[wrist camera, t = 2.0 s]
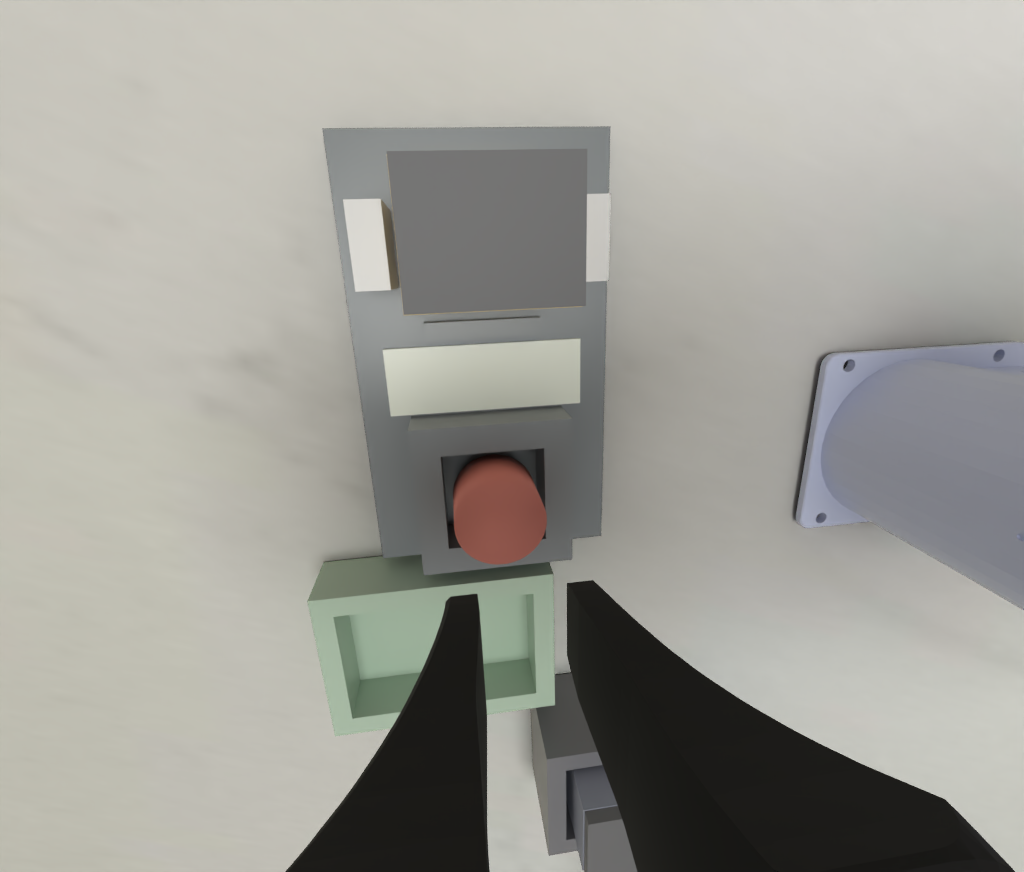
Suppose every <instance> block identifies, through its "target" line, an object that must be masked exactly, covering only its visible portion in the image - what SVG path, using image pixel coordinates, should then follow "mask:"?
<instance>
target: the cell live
mask: <svg viewBox="0 0 1024 872" xmlns="http://www.w3.org/2000/svg"><path fill="white" fill-rule="evenodd" d="M386 152H387V154H386V155H387V164H388V174H389V183H390V193H391V202H392V211H393V221H394V230H395V239H396V249H397V258H398V268H399V277H400V286H401V296H402V305H403V315H404V316H405V315H425V314H445V313H466V312H486V311H507V310H527V309H547V308H568V307H582V306H586V247H587V149H517V150H433V151H386Z"/></svg>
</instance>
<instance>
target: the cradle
mask: <svg viewBox="0 0 1024 872" xmlns="http://www.w3.org/2000/svg"><path fill="white" fill-rule="evenodd" d="M322 129H323V136H324V143H325V151H326V158H327V165H328V172H329V179H330V186H331V193H332V200H333V207H334V214H335V221H336V228H337V235H338V242H339V249H340V256H341V264H342V271H343V278H344V285H345V292H346V299H347V306H348V313H349V320H350V327H351V334H352V341H353V348H354V355H355V362H356V370H357V377H358V384H359V391H360V398H361V405H362V412H363V419H364V426H365V433H366V440H367V447H368V454H369V461H370V468H371V476H372V483H373V490H374V497H375V504H376V511H377V518H378V525H379V532H380V539H381V546H382V553H383V558H391V557H400V556H410V555H420V554H421V555H422V564H423V573H424V575H433V574H442V573H451V572H460V571H470V570H479V569H488V568H497V567H507V566H516V565H525V564H534V563H544V562H553V561H562V560H571V559H572V539H574V538H584V537H594V536H601V515H602V471H603V427H604V383H605V339H606V294H607V281H609V250H610V208H611V193H609V162H610V127H470V128H322ZM517 149H587V247H586V306H582V307H568V308H547V309H527V310H507V311H486V312H466V313H445V314H425V315H405V316H404V315H403V305H402V296H401V286H400V277H399V268H398V258H397V249H396V239H395V230H394V221H393V211H392V202H391V193H390V183H389V174H388V164H387V155H386V154H387V152H386V151H433V150H517ZM493 454H498V455H505V456H509V457H511V458H514V459H516V460H517V461H519V462H520V463H522V464H523V465H524V466H525V467H526V469H527V470H528V471H529V473H530V475H531V477H532V479H533V482H534V484H535V486H536V489H537V491H538V493H539V495H540V498H541V500H542V502H543V505H544V507H545V510H546V515H547V525H546V530H545V533H544V536H543V538H542V540H541V541H540V543H539V544H538V546H537V547H536V548H535V549H534V550H533V551H532V552H531V553H530V554H528V555H527V556H525V557H524V558H522V559H520V560H517V561H515V562H512V563H508V564H498V565H497V564H488V563H484V562H481V561H478V560H476V559H474V558H473V557H471V556H470V555H468V554H467V553H466V552H465V551H464V550H463V549H462V547H461V546H460V545H459V543H458V541H457V538H456V535H455V530H454V508H453V488H454V483H455V481H456V478H457V476H458V475H459V473H460V472H461V470H462V469H463V468H464V467H465V466H466V465H467V464H469V463H470V462H471V461H473V460H475V459H477V458H479V457H482V456H486V455H493Z"/></svg>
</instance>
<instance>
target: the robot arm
mask: <svg viewBox="0 0 1024 872" xmlns="http://www.w3.org/2000/svg"><path fill="white" fill-rule="evenodd" d="M846 361H848V364H847V366H846V368H845V369H843V365H844V363H845V362H846ZM818 514H820V515H819V517H817V515H818ZM816 517H817V518H816ZM796 521H797V523H798V524H800V525H801V526H803V527H804V528H815V527H824V526H834V525H843V524H852V523H862V522H872V523H874V524H876V525H877V526H879V527H881V528H883V529H884V530H886V531H888V532H889V533H891V534H893V535H895V536H896V537H898V538H900V539H902V540H903V541H905V542H907V543H909V544H910V545H912V546H914V547H915V548H917V549H919V550H921V551H922V552H924V553H926V554H928V555H929V556H931V557H933V558H935V559H936V560H938V561H940V562H941V563H943V564H945V565H947V566H948V567H950V568H952V569H954V570H955V571H957V572H959V573H960V574H962V575H964V576H966V577H967V578H969V579H971V580H973V581H974V582H976V583H978V584H980V585H981V586H983V587H985V588H986V589H988V590H990V591H992V592H993V593H995V594H997V595H999V596H1000V597H1002V598H1004V599H1005V600H1007V601H1009V602H1011V603H1012V604H1014V605H1016V606H1018V607H1019V608H1021V609H1023V610H1024V343H1023V342H1015V341H1013V342H997V343H981V344H966V345H950V346H934V347H919V348H903V349H887V350H871V351H856V352H840V353H832V354H829V355H827V356H826V357H825V358H824V359H823V361H822V363H821V367H820V373H819V379H818V385H817V391H816V397H815V403H814V409H813V415H812V421H811V427H810V433H809V439H808V445H807V451H806V457H805V464H804V470H803V476H802V482H801V488H800V494H799V500H798V506H797V512H796ZM567 656H568V660H569V665H570V669H571V673H572V677H573V681H574V685H575V689H576V693H577V696H578V700H579V703H580V705H581V708H582V711H583V714H584V716H585V719H586V722H587V724H588V727H589V730H590V733H591V735H592V738H593V741H594V743H595V746H596V749H597V751H598V754H599V757H600V759H601V762H602V765H603V767H604V770H605V773H606V775H607V778H608V781H609V783H610V786H611V789H612V791H613V794H614V797H615V799H616V802H617V805H618V808H619V811H620V814H621V817H622V820H623V823H624V826H625V830H626V833H627V837H628V840H629V844H630V847H631V851H632V854H633V858H634V862H635V865H636V869H637V872H1015V871H1014V870H1013V869H1012V868H1011V867H1010V866H1009V865H1008V864H1007V863H1006V862H1005V860H1004V859H1003V858H1002V857H1001V856H1000V855H999V854H998V853H997V852H996V851H995V850H994V849H993V848H992V847H991V846H990V845H989V844H988V843H987V842H986V841H985V840H984V838H983V837H982V836H981V835H980V834H979V833H978V832H977V831H976V830H975V829H974V828H973V827H972V826H971V825H970V824H969V823H968V822H967V821H966V820H965V819H964V818H963V817H962V816H961V815H960V814H959V813H958V812H957V811H956V810H955V809H954V808H953V807H952V806H951V805H950V804H949V803H948V802H947V801H946V800H945V799H943V798H940V797H938V796H936V795H933V794H931V793H929V792H926V791H924V790H921V789H919V788H917V787H914V786H912V785H910V784H907V783H905V782H902V781H900V780H898V779H895V778H893V777H891V776H888V775H886V774H883V773H881V772H879V771H876V770H874V769H872V768H869V767H867V766H865V765H863V764H860V763H858V762H856V761H854V760H852V759H850V758H848V757H846V756H844V755H842V754H840V753H838V752H835V751H833V750H831V749H829V748H827V747H825V746H823V745H821V744H819V743H817V742H815V741H813V740H811V739H809V738H807V737H805V736H804V735H802V734H800V733H798V732H796V731H794V730H792V729H790V728H788V727H787V726H785V725H783V724H781V723H780V722H778V721H776V720H774V719H773V718H771V717H769V716H767V715H766V714H764V713H762V712H760V711H759V710H757V709H755V708H753V707H752V706H750V705H749V704H747V703H745V702H744V701H742V700H740V699H739V698H737V697H736V696H734V695H733V694H731V693H730V692H728V691H727V690H725V689H724V688H722V687H721V686H719V685H718V684H716V683H715V682H713V681H712V680H710V679H709V678H707V677H706V676H704V675H703V674H701V673H700V672H699V671H697V670H696V669H694V668H693V667H692V666H690V665H689V664H688V663H686V662H685V661H684V660H683V659H681V658H680V657H679V656H677V655H676V654H675V653H673V652H672V651H671V650H670V649H668V648H667V647H666V646H665V645H664V644H662V643H661V642H660V641H659V640H658V639H656V638H655V637H654V636H653V635H652V634H651V633H650V632H648V631H647V630H646V629H645V628H644V627H643V626H641V625H640V624H639V623H638V622H637V621H636V620H635V619H634V618H633V617H631V616H630V615H629V614H628V613H627V612H626V611H625V610H624V609H623V608H622V607H621V606H620V605H619V604H617V603H616V602H615V601H614V600H613V599H612V598H611V597H610V596H609V595H608V594H607V593H606V592H605V591H604V590H603V589H602V588H601V587H600V586H599V585H597V584H596V583H595V582H594V581H593V580H592V581H583V582H574V583H567ZM286 872H489V859H488V839H487V707H486V693H485V679H484V665H483V651H482V637H481V623H480V611H479V602H478V594H469V595H460V596H451V597H450V598H449V599H448V600H447V601H446V603H445V609H444V613H443V617H442V620H441V623H440V627H439V629H438V632H437V635H436V638H435V641H434V643H433V645H432V648H431V650H430V653H429V655H428V657H427V660H426V662H425V665H424V667H423V669H422V671H421V673H420V675H419V677H418V679H417V681H416V683H415V685H414V687H413V689H412V691H411V693H410V695H409V697H408V699H407V701H406V703H405V705H404V707H403V709H402V711H401V712H400V714H399V716H398V718H397V720H396V721H395V723H394V725H393V726H392V728H391V730H390V731H389V733H388V735H387V736H386V738H385V740H384V741H383V743H382V745H381V746H380V748H379V749H378V751H377V752H376V754H375V755H374V757H373V758H372V760H371V761H370V763H369V764H368V766H367V767H366V769H365V770H364V772H363V773H362V775H361V776H360V778H359V779H358V780H357V782H356V783H355V785H354V786H353V788H352V789H351V790H350V792H349V793H348V794H347V796H346V797H345V799H344V800H343V801H342V802H341V804H340V805H339V806H338V808H337V809H336V810H335V811H334V813H333V814H332V815H331V816H330V818H329V819H328V820H327V822H326V823H325V824H324V825H323V827H322V828H321V829H320V830H319V832H318V833H317V834H316V836H315V837H314V838H313V839H312V841H311V842H310V843H309V844H308V846H307V847H306V848H305V849H304V851H303V852H302V853H301V854H300V855H299V857H298V858H297V859H296V860H295V861H294V863H293V864H292V865H291V866H290V867H289V868H288V869H287V870H286Z"/></svg>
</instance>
